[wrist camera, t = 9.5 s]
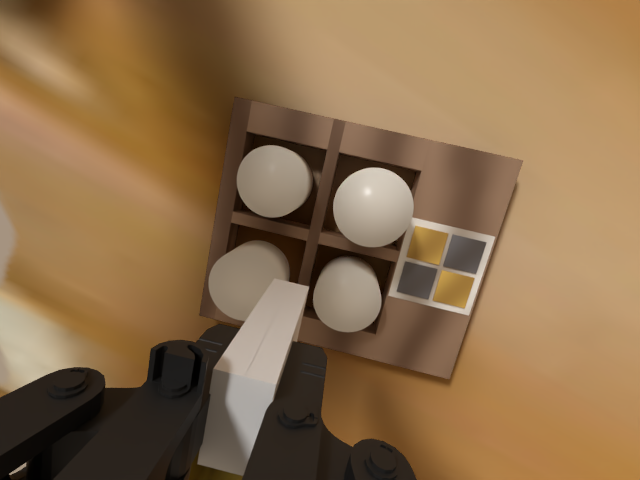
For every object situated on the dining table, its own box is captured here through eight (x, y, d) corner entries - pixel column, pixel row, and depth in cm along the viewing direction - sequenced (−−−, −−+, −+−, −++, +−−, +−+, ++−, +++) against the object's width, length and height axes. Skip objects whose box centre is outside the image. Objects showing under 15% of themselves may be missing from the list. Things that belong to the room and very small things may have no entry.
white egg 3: (329, 228, 29) (325, 237, 25) (344, 161, 28) (343, 159, 24) (394, 243, 29) (401, 255, 24) (412, 177, 27) (423, 177, 23)
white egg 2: (223, 293, 31) (203, 311, 27) (233, 233, 30) (214, 242, 26) (283, 308, 31) (272, 328, 27) (296, 248, 29) (286, 260, 25)
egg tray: (209, 305, 35) (198, 316, 32) (243, 102, 31) (233, 96, 28) (442, 365, 34) (449, 381, 31) (509, 161, 30) (524, 160, 27)
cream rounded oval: (312, 304, 33) (306, 323, 29) (325, 249, 32) (321, 260, 28) (369, 318, 33) (371, 339, 28) (384, 263, 31) (389, 276, 27)
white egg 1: (247, 204, 32) (231, 208, 28) (258, 143, 31) (243, 137, 26) (305, 218, 31) (298, 224, 27) (318, 156, 30) (313, 154, 26)
